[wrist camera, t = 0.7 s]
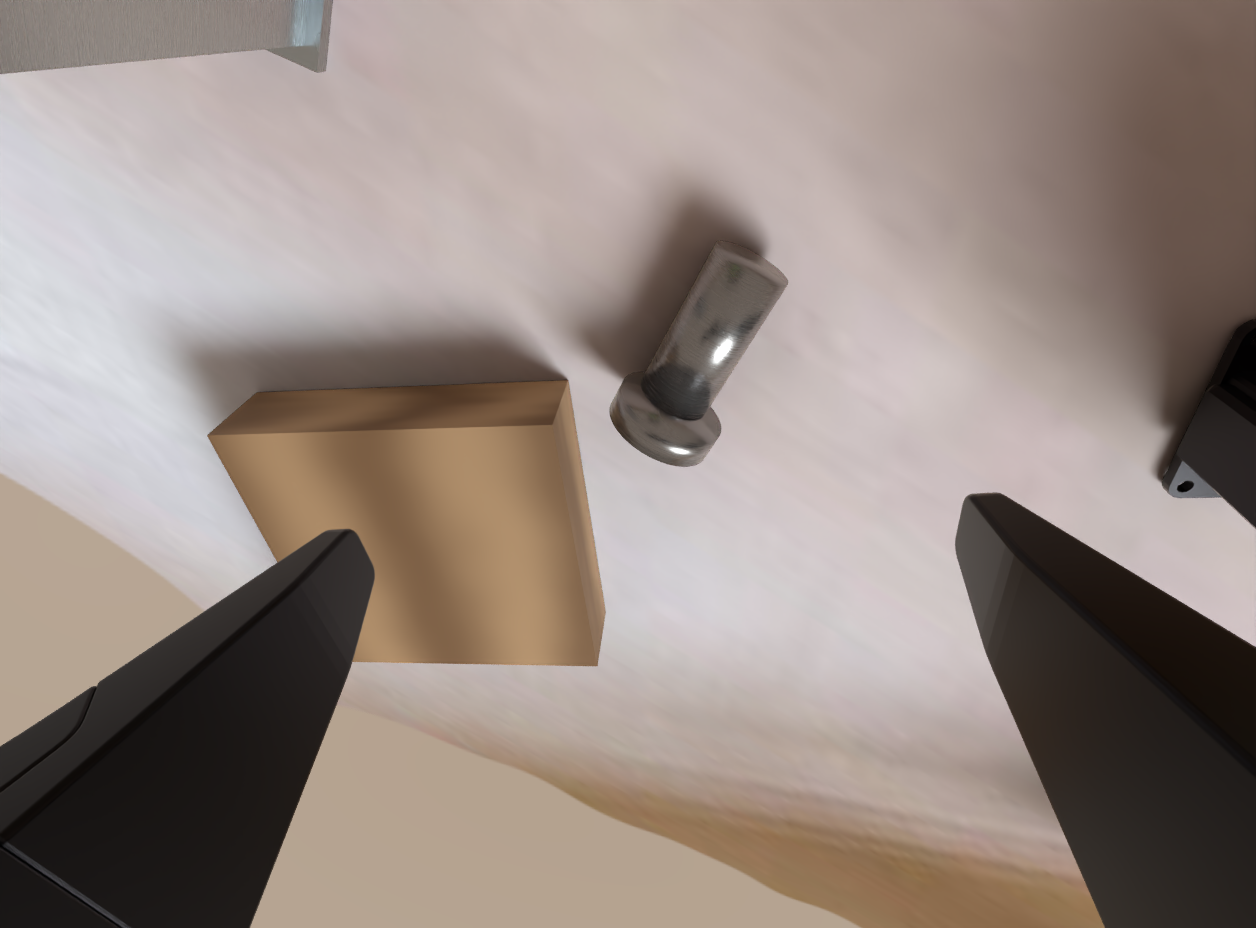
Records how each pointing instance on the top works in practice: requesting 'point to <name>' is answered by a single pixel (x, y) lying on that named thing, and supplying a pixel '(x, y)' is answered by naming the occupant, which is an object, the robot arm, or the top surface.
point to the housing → (158, 31)
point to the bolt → (697, 358)
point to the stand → (435, 512)
